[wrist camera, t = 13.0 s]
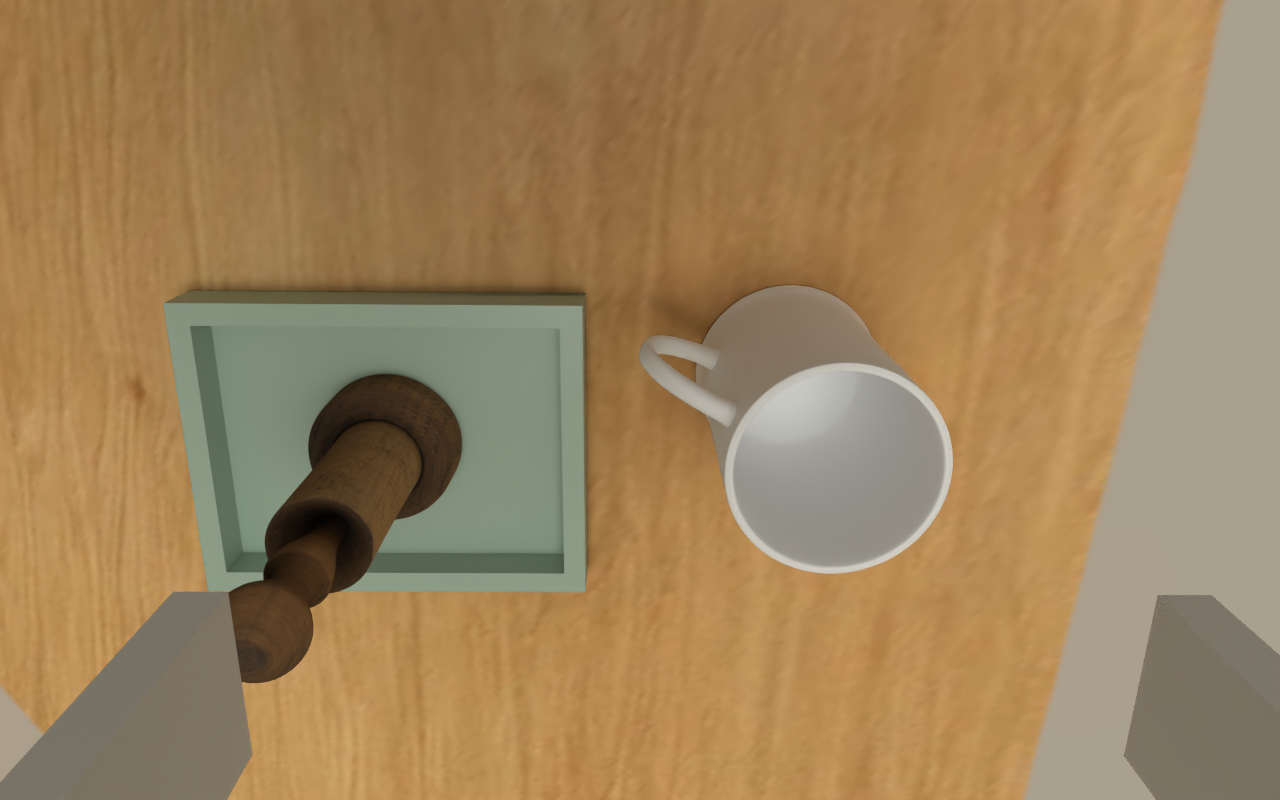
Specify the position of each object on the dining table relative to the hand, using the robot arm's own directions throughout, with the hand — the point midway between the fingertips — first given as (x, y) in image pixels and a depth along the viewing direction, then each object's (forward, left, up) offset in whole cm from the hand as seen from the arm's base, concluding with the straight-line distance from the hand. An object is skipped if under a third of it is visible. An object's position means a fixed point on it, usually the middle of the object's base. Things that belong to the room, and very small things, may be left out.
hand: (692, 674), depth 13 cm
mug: (+4, +5, -31) cm, 32 cm away
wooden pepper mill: (+8, -12, -30) cm, 34 cm away
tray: (+8, -12, -31) cm, 34 cm away
